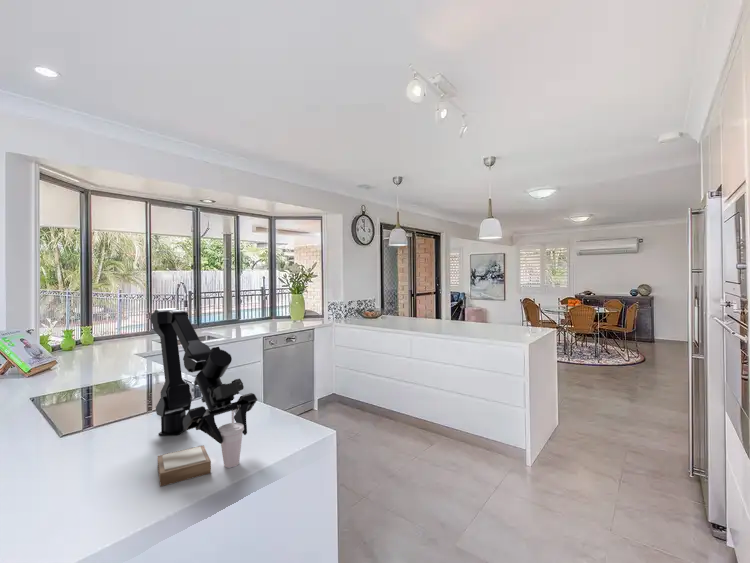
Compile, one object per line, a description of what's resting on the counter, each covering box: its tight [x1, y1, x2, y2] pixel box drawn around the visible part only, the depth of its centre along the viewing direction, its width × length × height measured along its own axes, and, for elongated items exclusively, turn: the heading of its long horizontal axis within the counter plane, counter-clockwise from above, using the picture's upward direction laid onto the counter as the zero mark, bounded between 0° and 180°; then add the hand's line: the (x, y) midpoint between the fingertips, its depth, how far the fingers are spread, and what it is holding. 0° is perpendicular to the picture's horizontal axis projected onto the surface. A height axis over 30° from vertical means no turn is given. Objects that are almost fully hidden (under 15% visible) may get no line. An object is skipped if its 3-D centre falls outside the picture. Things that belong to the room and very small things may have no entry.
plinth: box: [157, 445, 212, 487], centre depth 97 cm, size 11×11×3 cm
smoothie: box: [218, 410, 244, 469], centre depth 100 cm, size 6×6×14 cm
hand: (234, 438), depth 99 cm, fingers closed on smoothie, 6 cm apart
